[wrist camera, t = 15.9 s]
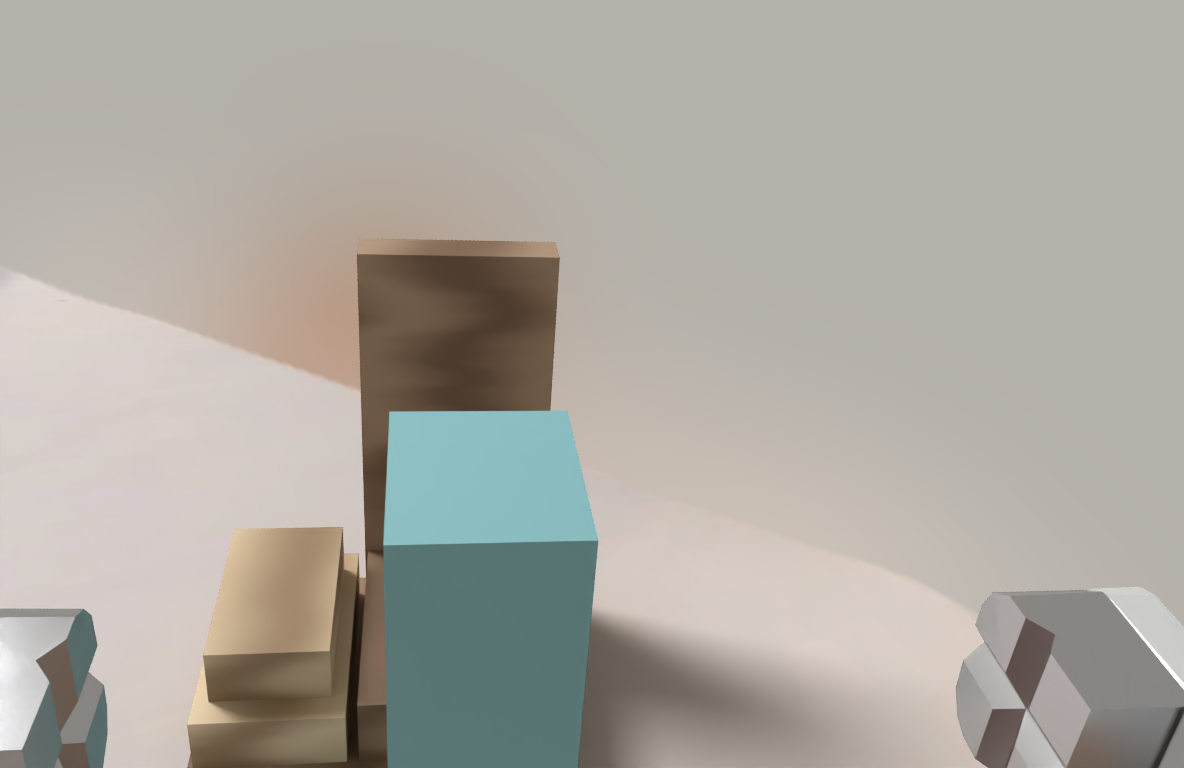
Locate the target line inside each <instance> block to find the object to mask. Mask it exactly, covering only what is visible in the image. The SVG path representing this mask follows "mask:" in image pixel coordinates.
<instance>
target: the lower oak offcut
mask: <svg viewBox="0 0 1184 768" xmlns="http://www.w3.org/2000/svg"><path fill="white" fill-rule="evenodd" d="M359 598H360V582H359V553H355V554H344V577H343V588H342V598H341V608H340V618H339V628H338V639H337V649H336V659H335V669H334V680H333V690H332V697H313V698H288V699H264V700H240V701H216V702H208V694H207V686H206V677H205V669H204V660H203V663H202V667H201V671H200V675H199V679H198V683H197V687H196V691H195V695H194V699H193V703H192V707H191V711H190V715H189V719H188V723H187V727H188V735H189V742H190V750H191V757H192V765H193V768H230V767H250V766H270V765H290V764H310V763H330V762H347V756H348V743H349V730H350V717H351V703H352V690H353V677H354V664H355V651H356V637H357V624H358V611H359Z"/></svg>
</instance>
